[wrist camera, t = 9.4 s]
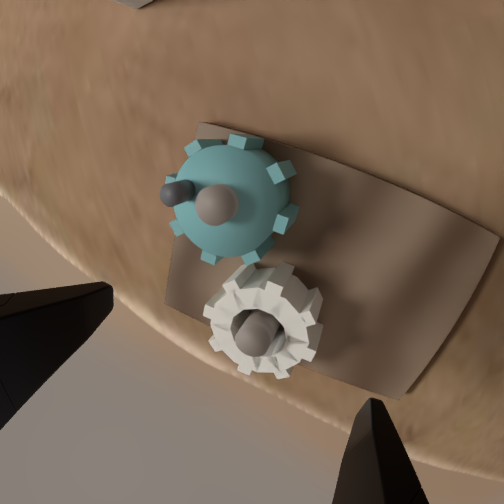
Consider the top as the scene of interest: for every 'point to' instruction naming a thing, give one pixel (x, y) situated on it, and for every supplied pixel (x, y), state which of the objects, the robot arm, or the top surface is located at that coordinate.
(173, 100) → the top surface
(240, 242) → the teal gear
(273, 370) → the off-white gear
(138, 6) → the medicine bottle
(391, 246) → the gear board
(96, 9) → the top surface
